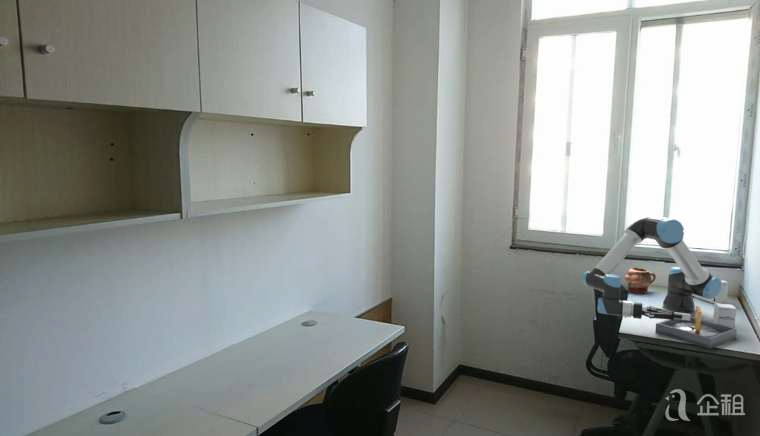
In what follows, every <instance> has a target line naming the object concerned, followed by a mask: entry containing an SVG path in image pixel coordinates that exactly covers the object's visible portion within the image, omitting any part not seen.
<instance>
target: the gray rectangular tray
mask: <svg viewBox="0 0 760 436" xmlns="http://www.w3.org/2000/svg"><path fill="white" fill-rule="evenodd" d="M694 321H695V317H693V316H691V317H690V321H688V320H681V319H674V320H669V319H664V320H662V321H659V322H656V323H655V332H654V333H656V334H659V335H663V336H665V337H670V338H672V339H675V340H680V341H683V342H687V343H689V344H693V345H696V346H699V347H703V348H705V349H713V348H716V347H718V346H721V345H723V344H726V343H729V342H730V341H733V340H735V339H736V338H737V331H738V330H737V328H735V327H734V328H731V327H727V326H723V325H720V324H716V323H713V321H712V322H711V321H708V320H703V319H701V324H700V325H705V326H708V327H711V328H713V329H715V330H716V331H717V335H716V336H713V337H710V338H708V337H705V336H701V335H698V334H694V333H691V332H687V331H684V330H680V329H677V328H674V327H675V324H677V323H694Z"/></svg>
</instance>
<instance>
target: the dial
mask: <svg viewBox="0 0 760 436" xmlns="http://www.w3.org/2000/svg"><path fill="white" fill-rule="evenodd" d="M694 312H695V313H694V318H695V321H694V323H677V324H675V327H674V328H677V329H680V330H684V331H687V332H691V333H694V334H698V335H701V336H705V337H708V338H710V337H713V336H716V335H717V331H716V330H715V329H713V328H711V327H708V326H705V325H700V324H701V320H702V309H701V306H699V305H698V306H697V305H696V306H695V311H694Z"/></svg>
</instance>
